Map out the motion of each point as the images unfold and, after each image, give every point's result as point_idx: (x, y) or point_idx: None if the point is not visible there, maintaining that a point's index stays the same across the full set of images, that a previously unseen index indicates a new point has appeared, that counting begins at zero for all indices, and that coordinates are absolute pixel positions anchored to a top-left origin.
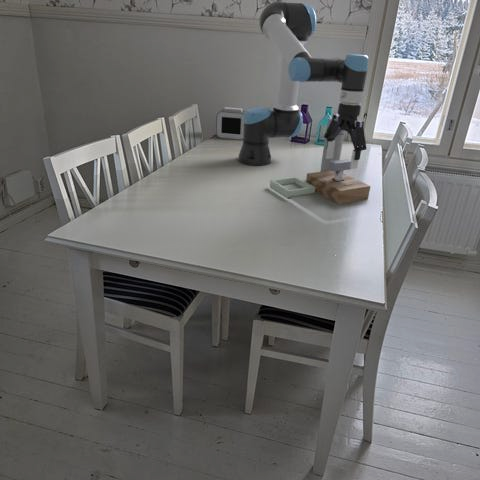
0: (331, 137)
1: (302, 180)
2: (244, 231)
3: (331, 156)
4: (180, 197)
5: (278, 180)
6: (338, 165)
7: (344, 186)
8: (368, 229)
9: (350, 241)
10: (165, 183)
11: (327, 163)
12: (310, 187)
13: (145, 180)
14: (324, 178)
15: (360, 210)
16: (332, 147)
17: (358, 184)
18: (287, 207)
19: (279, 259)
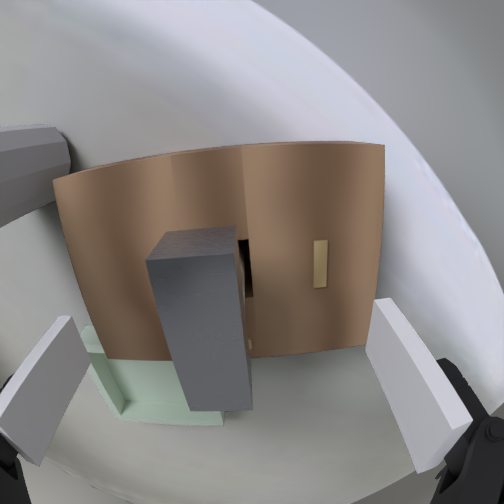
0: (25, 496)
1: None
2: (341, 474)
3: (70, 339)
4: (177, 495)
5: (114, 402)
6: (249, 371)
7: (333, 300)
8: (480, 300)
9: (475, 360)
10: (114, 485)
11: (6, 219)
12: None
13: (104, 490)
14: None
15: (406, 241)
16: (36, 396)
17: (338, 200)
18: (281, 421)
19: None
